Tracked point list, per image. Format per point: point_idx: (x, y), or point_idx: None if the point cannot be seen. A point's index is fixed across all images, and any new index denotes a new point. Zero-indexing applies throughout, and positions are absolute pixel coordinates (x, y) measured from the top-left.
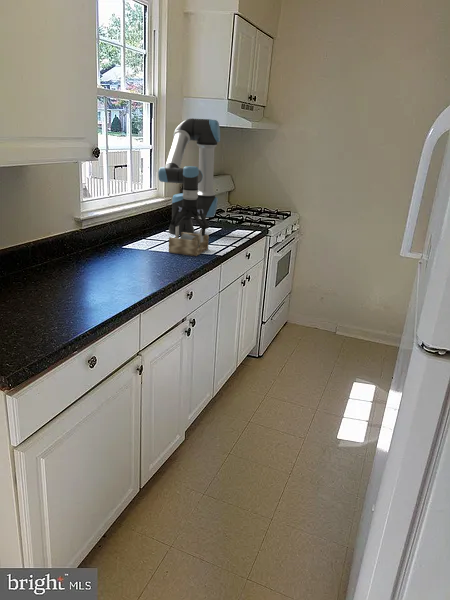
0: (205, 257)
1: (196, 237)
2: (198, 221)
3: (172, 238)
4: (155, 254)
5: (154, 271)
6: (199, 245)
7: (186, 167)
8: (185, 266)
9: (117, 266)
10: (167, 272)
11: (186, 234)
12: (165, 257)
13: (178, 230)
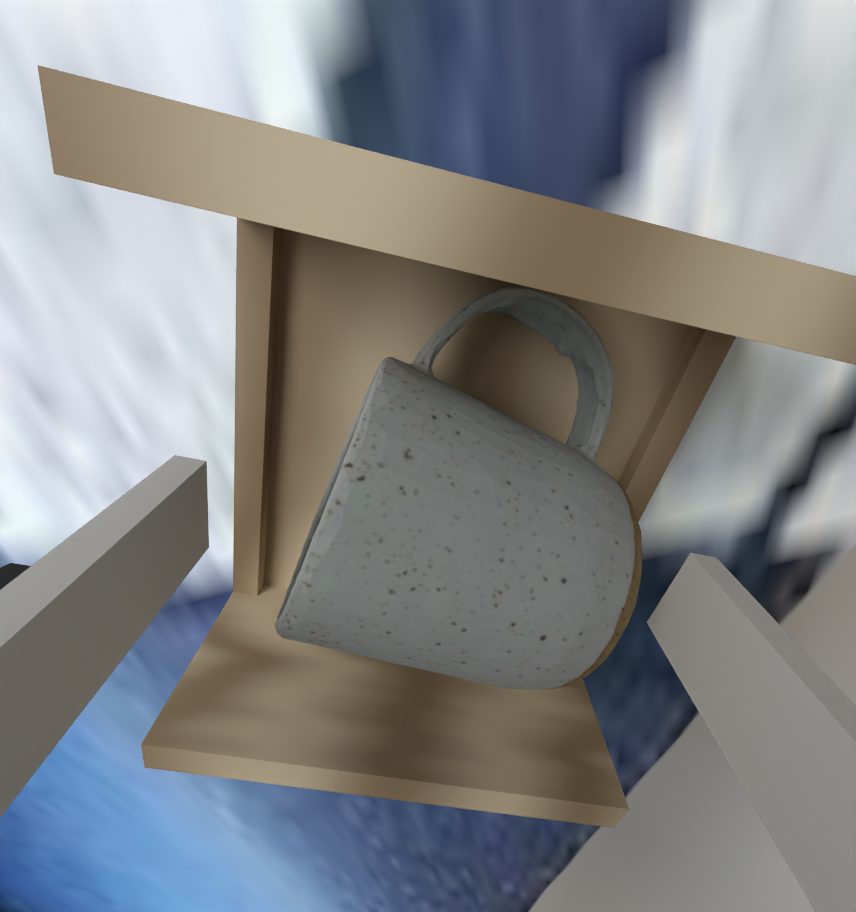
0: (646, 649)
1: (615, 645)
2: None
3: (213, 772)
4: (170, 671)
5: (350, 905)
6: (608, 396)
7: None
8: (496, 836)
9: (130, 886)
10: (419, 905)
11: (378, 625)
12: None
13: (73, 615)
